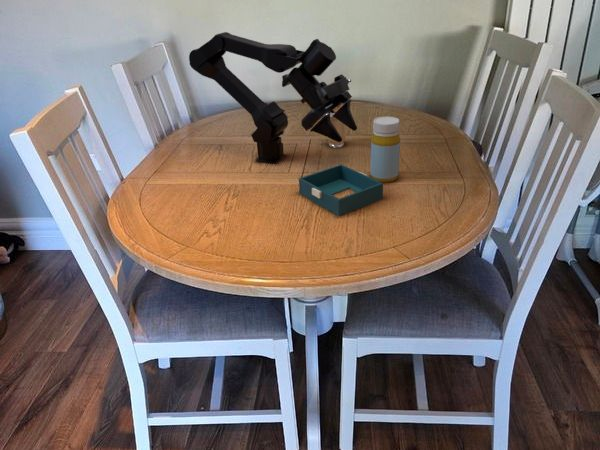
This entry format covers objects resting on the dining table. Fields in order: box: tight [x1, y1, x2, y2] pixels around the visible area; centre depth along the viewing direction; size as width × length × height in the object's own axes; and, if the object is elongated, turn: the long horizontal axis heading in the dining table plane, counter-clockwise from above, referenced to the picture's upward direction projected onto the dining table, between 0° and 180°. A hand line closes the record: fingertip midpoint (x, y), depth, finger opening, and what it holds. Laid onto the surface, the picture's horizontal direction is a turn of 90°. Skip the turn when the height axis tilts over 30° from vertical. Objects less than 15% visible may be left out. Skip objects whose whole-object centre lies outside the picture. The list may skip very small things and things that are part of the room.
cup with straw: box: [325, 78, 352, 149], centre depth 140 cm, size 8×9×20 cm
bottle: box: [369, 116, 401, 184], centre depth 120 cm, size 7×7×15 cm
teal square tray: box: [298, 163, 384, 217], centre depth 115 cm, size 15×14×4 cm
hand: (348, 135), depth 123 cm, fingers open, 9 cm apart
